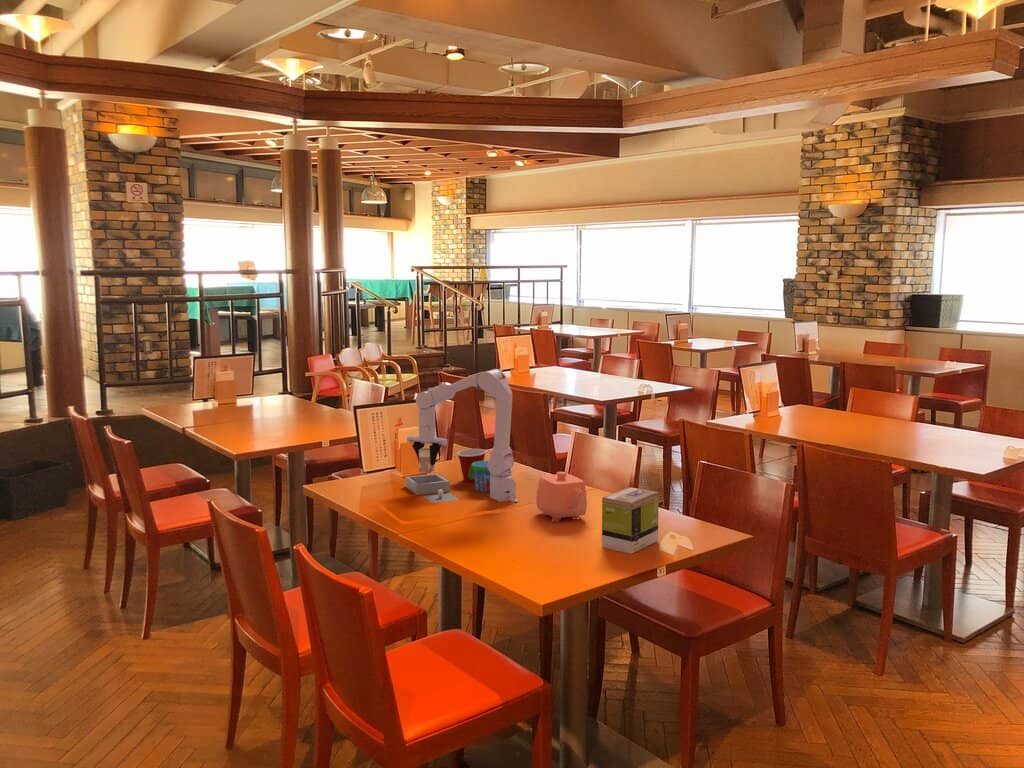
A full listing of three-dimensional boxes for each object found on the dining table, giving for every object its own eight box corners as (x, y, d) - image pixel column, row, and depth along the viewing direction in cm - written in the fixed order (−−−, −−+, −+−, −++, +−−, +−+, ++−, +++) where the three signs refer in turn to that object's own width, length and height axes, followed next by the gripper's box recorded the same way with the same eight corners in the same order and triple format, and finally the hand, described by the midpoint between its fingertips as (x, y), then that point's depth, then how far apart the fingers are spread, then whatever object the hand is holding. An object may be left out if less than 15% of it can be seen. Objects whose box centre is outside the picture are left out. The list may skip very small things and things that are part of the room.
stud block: (460, 502, 273) (460, 491, 272) (431, 506, 268) (431, 494, 268) (448, 495, 282) (448, 484, 281) (421, 498, 277) (421, 487, 277)
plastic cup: (454, 480, 304) (455, 448, 302) (483, 479, 306) (483, 447, 304) (458, 487, 293) (458, 454, 292) (488, 486, 295) (488, 453, 294)
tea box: (628, 534, 240) (630, 485, 238) (658, 542, 234) (660, 491, 232) (600, 547, 229) (601, 495, 227) (631, 555, 222) (633, 502, 220)
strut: (429, 473, 283) (429, 450, 282) (419, 472, 284) (418, 449, 283) (434, 470, 287) (434, 448, 286) (424, 469, 288) (423, 447, 287)
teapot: (596, 524, 251) (597, 478, 249) (559, 528, 245) (560, 482, 244) (563, 505, 270) (564, 463, 269) (528, 509, 265) (529, 467, 264)
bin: (449, 493, 284) (449, 481, 283) (416, 497, 279) (416, 484, 278) (437, 486, 295) (437, 473, 294) (405, 489, 289) (405, 476, 289)
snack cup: (460, 490, 289) (460, 462, 288) (482, 485, 296) (482, 458, 295) (491, 498, 278) (491, 468, 277) (513, 493, 285) (513, 464, 284)
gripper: (450, 425, 285) (450, 463, 287) (413, 422, 290) (413, 459, 292) (442, 428, 279) (442, 467, 280) (404, 425, 283) (404, 464, 285)
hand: (427, 463), depth 285 cm, fingers closed on strut, 4 cm apart
